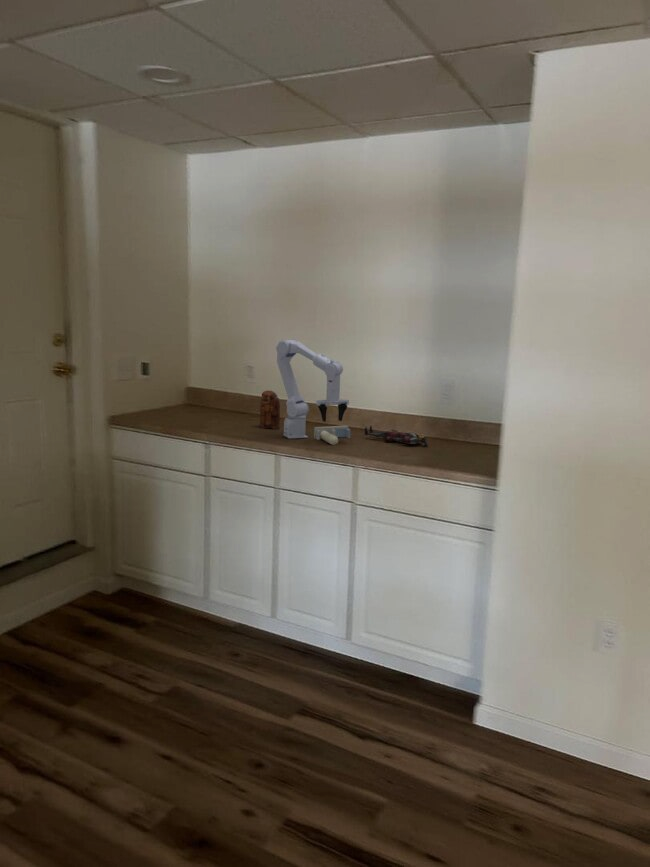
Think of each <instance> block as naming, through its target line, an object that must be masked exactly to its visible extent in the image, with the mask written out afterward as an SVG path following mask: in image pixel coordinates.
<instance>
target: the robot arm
mask: <svg viewBox="0 0 650 867" xmlns="http://www.w3.org/2000/svg"><path fill="white" fill-rule="evenodd" d="M275 350H276V353H277V354H276V363H277V367H278V370H279V372H280V375H281V380H282V382H283V386H284V389H285V392H286V395H287V400H286V403H285V404H286V414H287V415H288V417H286V418H284V422H283V434H282V435H283V436H284V437H286V438H288V439H303V438H306V439H307V438H309V436H308V435H306V420H307V419H306V418H307V415H308V414H309V412H310V411H309V410H310V407H309V404H308V403H307V402H306V400H305V398H304V397H303V396H302V395H300V391H299V387H298V384H297V381H296V378H295V375H294V370H293V368H292V365H291V361H292V359H293V358H294V356H296V354H300V355H301V356H303V357H305V358H306V359H308V360H311V361H312V363H313V365H314V366H315V367H316V368H318V369H320V370H321V371H323V372H324V374H325V375H326V396H325V397H326V399H321V400H320V399H319V400H316V406H317V408H318V409H319V412H320V415H321V420H322V422H324V423H326V422H327V410H328V406H336V405H337V408H338V415H337V416H338V417H337V418H338V419H337V420H338V421H339V422H342V421H343V417H344V414H345V412H346V410H347V409H348V405H349V402H350V401H349V399H340V395H341V394H340V393H341V392H340V388H341V387H340V386H341V375H342V373H343V371H344V368H343V365H342V364H341V363H340V362H339V361H334V359H330V358H328V357H326V354H324V353H316V352H314V351H313V350H311V349H310V348H308V347H307V346H306V345H305V344H303V343H302V342H300V341H299V340H297V339H295V338H293V339H286V340H285V339H283V340H280V341H279V342H278V343H277V345H276V347H275Z"/></svg>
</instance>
